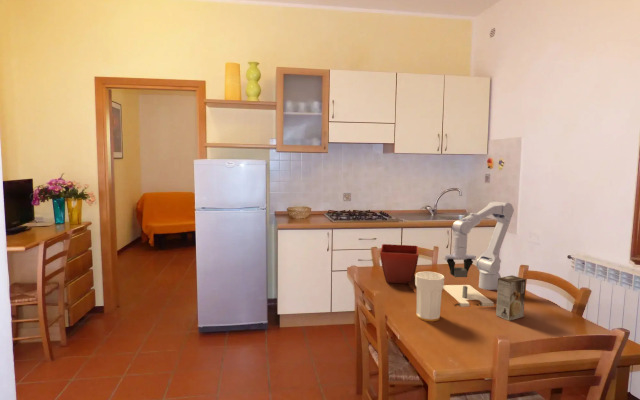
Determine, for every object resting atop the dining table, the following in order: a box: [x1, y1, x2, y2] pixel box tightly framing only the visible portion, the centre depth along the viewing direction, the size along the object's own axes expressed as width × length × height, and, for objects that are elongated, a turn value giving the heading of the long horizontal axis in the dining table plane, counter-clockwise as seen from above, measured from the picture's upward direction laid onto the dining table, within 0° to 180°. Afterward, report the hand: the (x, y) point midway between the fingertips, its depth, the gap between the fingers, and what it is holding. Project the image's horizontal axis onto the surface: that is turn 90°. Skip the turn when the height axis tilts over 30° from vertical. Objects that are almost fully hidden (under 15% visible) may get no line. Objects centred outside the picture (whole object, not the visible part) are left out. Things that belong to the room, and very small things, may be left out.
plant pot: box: [379, 243, 420, 285], centre depth 206 cm, size 19×19×17 cm
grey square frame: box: [449, 266, 469, 278], centre depth 184 cm, size 6×6×3 cm
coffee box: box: [495, 275, 527, 322], centre depth 160 cm, size 9×6×16 cm
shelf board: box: [442, 284, 495, 308], centre depth 182 cm, size 15×24×6 cm, turn 4°
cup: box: [414, 270, 445, 322], centre depth 158 cm, size 11×11×17 cm
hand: (458, 274), depth 184 cm, fingers closed on grey square frame, 6 cm apart
